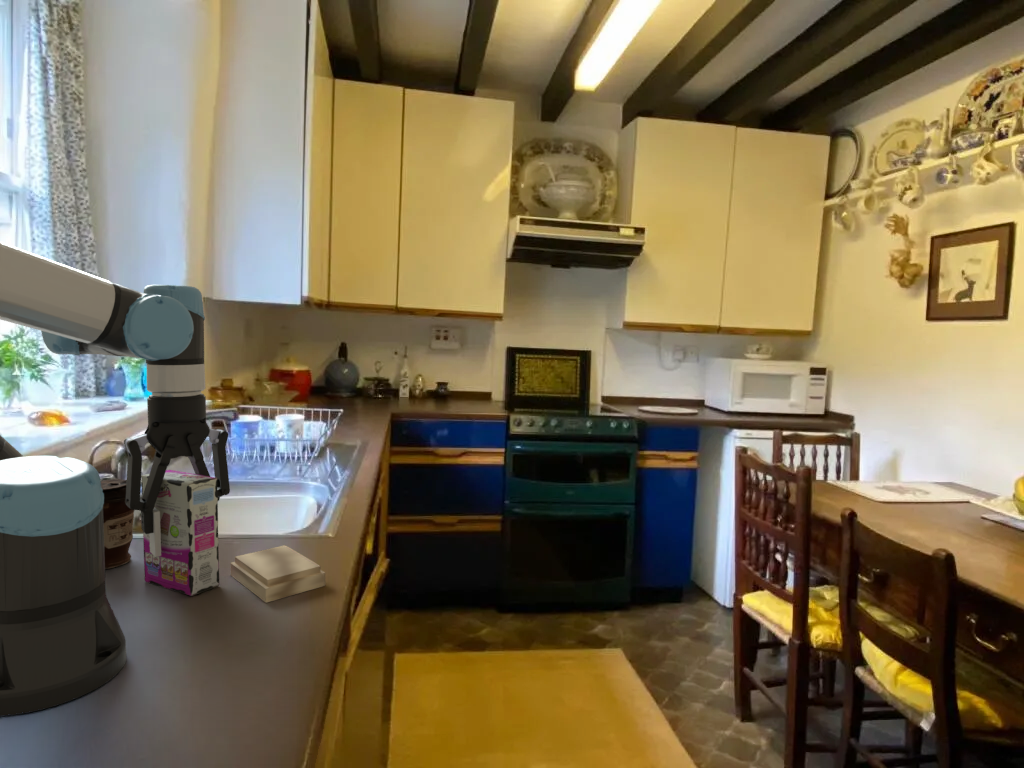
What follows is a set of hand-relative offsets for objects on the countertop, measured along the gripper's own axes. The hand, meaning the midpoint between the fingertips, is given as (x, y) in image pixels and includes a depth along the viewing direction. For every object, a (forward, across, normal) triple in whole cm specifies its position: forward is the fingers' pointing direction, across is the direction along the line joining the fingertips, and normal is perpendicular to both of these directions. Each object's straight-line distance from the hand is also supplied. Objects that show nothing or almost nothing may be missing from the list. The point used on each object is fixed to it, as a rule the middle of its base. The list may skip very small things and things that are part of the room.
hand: (181, 548), depth 96 cm
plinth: (+5, -11, +8) cm, 15 cm away
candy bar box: (+6, 0, 0) cm, 6 cm away
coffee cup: (+6, +6, -16) cm, 18 cm away
